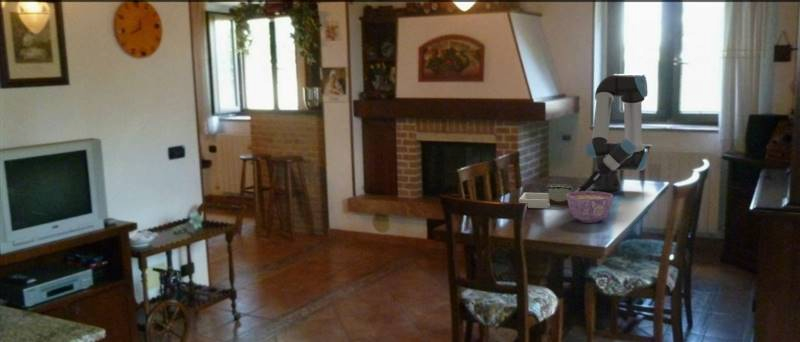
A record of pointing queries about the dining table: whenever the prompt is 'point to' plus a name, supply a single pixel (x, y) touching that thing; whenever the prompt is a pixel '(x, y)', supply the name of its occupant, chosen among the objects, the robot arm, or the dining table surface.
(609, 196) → the bowl of food
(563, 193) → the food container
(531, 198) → the frame
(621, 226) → the dining table surface
